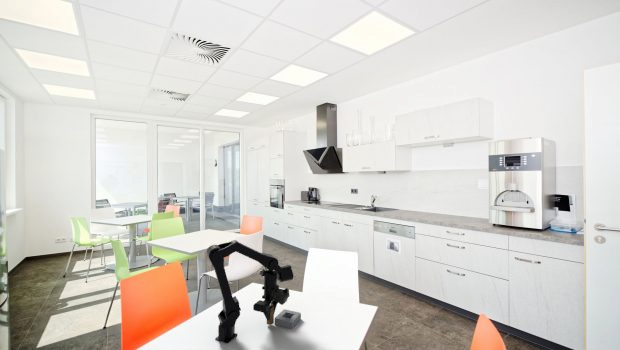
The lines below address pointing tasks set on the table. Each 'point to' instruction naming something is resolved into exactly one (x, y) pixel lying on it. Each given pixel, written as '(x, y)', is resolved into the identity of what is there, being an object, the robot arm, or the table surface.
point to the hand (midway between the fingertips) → (270, 318)
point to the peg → (271, 316)
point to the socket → (287, 318)
